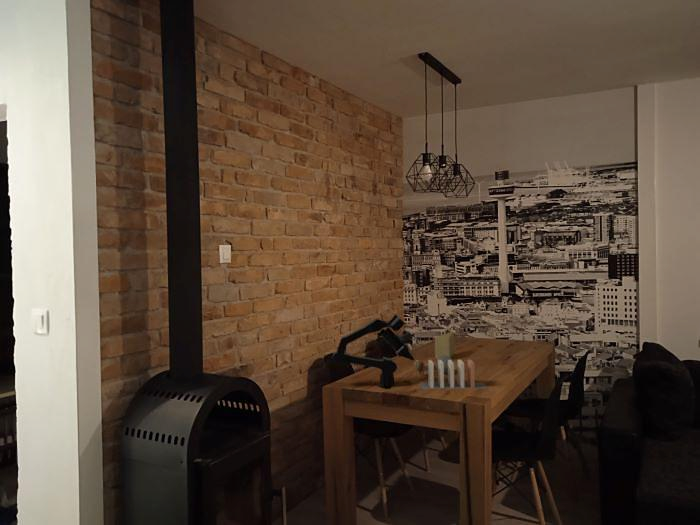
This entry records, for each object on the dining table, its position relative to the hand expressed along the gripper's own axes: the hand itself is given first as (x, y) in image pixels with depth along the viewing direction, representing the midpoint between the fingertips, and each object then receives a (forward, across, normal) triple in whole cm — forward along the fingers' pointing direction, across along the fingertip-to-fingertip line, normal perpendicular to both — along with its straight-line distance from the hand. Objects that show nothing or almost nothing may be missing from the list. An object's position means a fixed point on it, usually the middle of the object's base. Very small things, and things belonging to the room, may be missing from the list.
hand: (413, 359), depth 286 cm
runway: (+24, 0, -4) cm, 24 cm away
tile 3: (+22, 0, -4) cm, 23 cm away
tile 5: (+29, 0, -11) cm, 31 cm away
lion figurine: (+16, +25, +4) cm, 30 cm away
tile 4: (+26, 0, -8) cm, 27 cm away
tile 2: (+19, 0, 0) cm, 19 cm away
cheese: (+30, +80, -10) cm, 86 cm away
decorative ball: (+24, +31, -4) cm, 39 cm away
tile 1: (+15, 0, +3) cm, 16 cm away
